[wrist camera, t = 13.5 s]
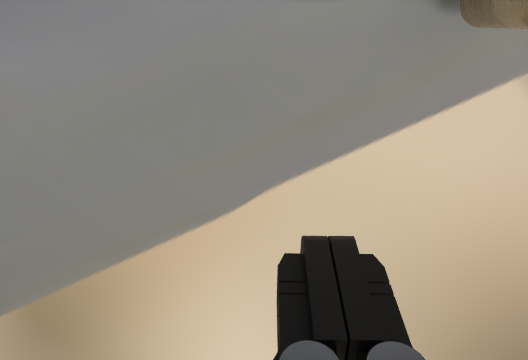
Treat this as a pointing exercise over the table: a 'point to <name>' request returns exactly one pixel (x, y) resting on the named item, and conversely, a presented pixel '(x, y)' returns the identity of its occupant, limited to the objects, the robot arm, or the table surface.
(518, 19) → the crank handle
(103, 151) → the table surface
